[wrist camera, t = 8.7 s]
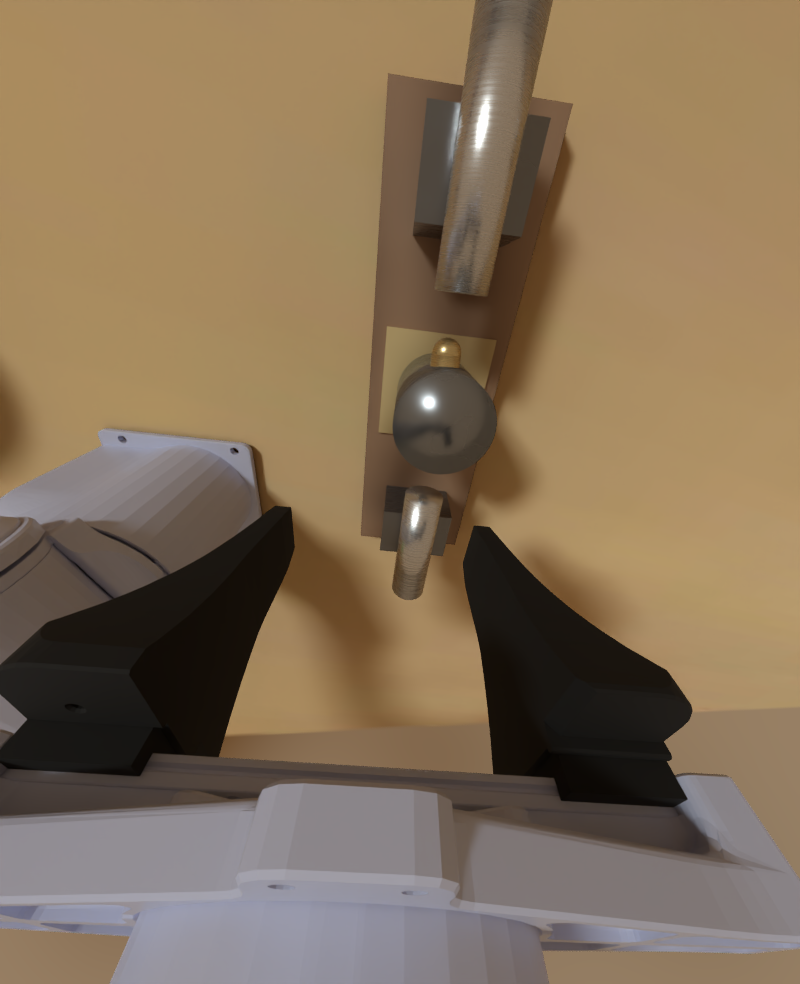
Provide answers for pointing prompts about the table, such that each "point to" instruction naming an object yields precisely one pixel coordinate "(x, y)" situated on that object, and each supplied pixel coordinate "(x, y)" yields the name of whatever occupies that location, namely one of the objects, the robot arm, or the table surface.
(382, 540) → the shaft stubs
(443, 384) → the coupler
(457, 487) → the shaft board
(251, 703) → the table surface
